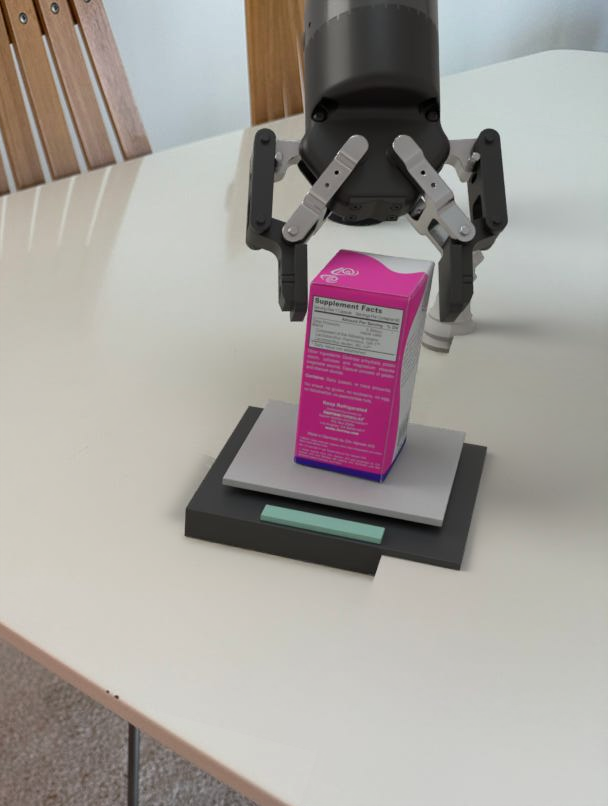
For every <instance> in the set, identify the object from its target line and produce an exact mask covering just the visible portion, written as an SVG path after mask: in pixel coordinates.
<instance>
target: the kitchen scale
mask: <svg viewBox="0 0 608 806" xmlns="http://www.w3.org/2000/svg"><path fill="white" fill-rule="evenodd" d="M298 410H299V403H296V402H295V403H294V402H289V401H283V400H277V399H268V401H267V402H266V404H265V406H264V407H258V406H253V405H248V407H247V408H246V409H245V411H244V413H243V415H242V416H241V418H240V420H239V421H238V423H237V425H235V428H234V430H233V431H232V432H231V434H230V436H229V437H228V439H227V441H226V442H225V444H224V445H223V446H222V448H221V451H219V454H218V455H217V457H216V458H215V460H214V462H213V463H212V465H211V467H210V468H209V470H208V472H207V473H206V474H205V476H204V478H203V479H202V481H201V482H200V484H199V485H198V488H197V489H196V491H195V492H194V494H193V495H192V497H191V499H190V500H189V502H188V503H187V505H186V507H185V510H184V511H185V512H184V513H185V514H184V534H183V535H184V537H189V538H193V539H197V540H202V541H207V542H212V543H216V544H221V545H226V546H232V547H236V548H241V549H244V550H245V549H246V550H250V551H255V552H259V553H260V552H261V553H265V554H269V555H274V556H279V557H284V558H287V559H288V558H289V559H293V560H298V561H302V562H307V563H311V564H317V565H320V566H325V567H330V568H335V569H341V570H345V571H350V572H354V573H360V574H364V575H369V576H376V574H377V571H378V568H379V565H380V562H381V559H382V556H385V557H390V558H396V559H399V560H400V559H401V560H404V561H405V560H406V561H410V562H415V563H420V564H425V565H430V566H434V567H440V568H443V569H449V570H455V571H460V570H461V566H462V562H463V557H464V553H465V550H466V549H465V548H466V544H467V540H468V535H469V530H470V526H471V522H472V517H473V513H474V509H475V504H476V499H477V495H478V492H479V491H478V490H479V486H480V482H481V478H482V473H483V468H484V464H485V460H486V455H487V451H488V446H485V445H480V444H474V443H469V442H465V440H466V439H465V438H466V436H467V432H466V431H461V430H454V429H449V428H442V427H437V426H431V425H425V424H420V423H419V424H418V423H414V422H409V423H408V429H407V437H406V442H405V444H404V446H403V448H402V450H401V452H400V454H399V455H398V457H397V459H396V461H395V462H394V464H393V466H392V468H391V470H390V471H389V473H388V475H387V476H386V478H385V480H384V481H383V482H382V483H378V482H374V481H370V480H367V479H362V478H358V477H354V476H350V475H346V474H342V473H338V472H333V471H329V470H324V469H320V468H315V467H311V466H307V465H303V464H298V463H295V462H294V454H295V443H296V432H297V421H298Z"/></svg>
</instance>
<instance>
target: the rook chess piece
mask: <svg viewBox="0 0 608 806" xmlns="http://www.w3.org/2000/svg"><path fill="white" fill-rule="evenodd" d="M439 254H440V257H442V255H441V253H439ZM472 254H473V283H474V282H475V281H476V280H477V279H478V276H477V273H476V268H477V267H478V266H479V265H480V264H481V263H482V262H483V261H484V260H485V256H484V254H483V251H481V250H476V251H474V252H472ZM471 301H472V300H471ZM471 301H470V303H469V304H468V305H467V307H466V308H465V309H464V311H463V312H461V314H460V315H459V316H458V317H457V319H456V320H455V321H454V322H440V317H439V290H438V291H437V295H436V297H435V301H434V303H433V304H432V306H431V308H429V309H428V310H427V314H426V320H425V326H424V332H423V338H422V344H421V346H423V347H425V348H427V349H428V350H430V351H434V352H438V353H443V354H444V353H445V354H450V353H449V352H450V349H451V346H452V344H453V340H454V338H455V336H457V337H458V336H460V337H461V336H464V335H470V334H471V333H473V332H474V331H475V329H476V323H475V321H474V320H473V316H474V315H473V313H472V308H471V304H472V303H471Z"/></svg>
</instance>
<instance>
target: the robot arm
mask: <svg viewBox="0 0 608 806" xmlns="http://www.w3.org/2000/svg"><path fill="white" fill-rule="evenodd" d="M303 11H304V13H303V33H302V37H301V47H302V53H303V55H304V57H303V58H304V61H303V63H304V127H305V129H304V134H303V136H302V138H301V140H298V139H280V138H277V134H276V133H275V132H274V131H273V130H272V129H271V128H268V127H263V128H260V129H258V130H257V131H256V133H255V135H254V137H253V142H252V143H253V144H252V149H251V154H250V158H249V171H248V172H249V173H248V188H247V189H248V191H247V207H246V223H245V224H246V225H245V244H246V246H247V248H249V249H250V250H251V251H261V250H265V251H267V252H270V253H271V254H273V255H274V257H275V258H276V260H277V289H278V290H277V292H278V293H277V295H278V298H277V299H278V301H277V302H278V305H279V308H280V309H281V310H280V311H281V312H289V322H290V323H292V322H293V323H295V322H297V323H298V322H299V323H303V322H304V321H305V318H306V316H307V314H308V303H309V282H308V281H309V274H308V273H309V272H308V271H309V270H308V269H309V268H308V267H309V265H308V263H309V262H308V261H309V260H308V242H309V241H310V239H311V238H312V237H313V236H315V235H316V234H317V233H318V231H319V230H320V229H321V227H323V225H324V224H325V223H326V221H327V220H329V219H328V217H329V216H330V215H331V213H332V212H333V213H334V214H336V215H338V216H340V217H343V221H359V220H363V219H367V218H372V219H376V220H380V221H383V222H397V221H398V220H399V218H400V217H404V218H405V219H406V220H407V222H408V223H409V224H410V225H411V226H412V227H413V229H414V230H415V231H416V232H417V234H419V235H420V236H425V237H426V238H427V239H428V240H429V242H430V243H431V244H432V245H433V246H434V248H435V249H436V250H437V251H438V252H439V254H441V255H442V257H441V255H440V257H441V258H440V259H439V261H438V263H437V267H438V270H437V272H438V274H437V275H438V291H439V317H440V322H454V321H455V320H456V319H457V317H458V316H459V315H460V314H461V312H463V311H464V309H465V308H466V307H467V305H468V304H469V303H470V301H472V299H473V295H474V294H475V293H474V282H473V254H472V252H474V251H476V250H481V252H485V251H488V250H490V249H491V248H492V247H493V246H494V244H495V242H496V240H497V238H498V237H499V236H500V234H501V233H502V232H503V231H504V230H505V228H506V227H507V226H508V223H509V215H508V205H507V193H506V184H505V174H504V173H505V172H504V163H503V162H504V161H503V152H502V151H503V150H502V144H501V143H502V142H501V136H500V135H501V134H500V133H499V132H498V130H496V129H495V128H491V127H489V128H488V127H487V128H485V129H483V130H481V131H480V133H479V135H478V136H477V137H476V138H461V139H449V137H448V136H447V134H446V133H445V130H444V129H443V125H442V122H441V76H440V72H441V71H440V37H439V35H440V34H439V0H305V1H304V10H303ZM294 165H296V166H297V168H298V170H299V172H300V173H301V175H302V176H303V177H304V178H305V180H306V181H307V182H308V184H309V185H310V186H311V188H310V189H309V190H308V191H307V193H306V195H305V197H304V199H303V200H302V201H301V203H300V204H299V205H298V207H297V208H296V210H295V211H294V212H293V213H292V215H291V216H290V217H289V218H288V220H287V221H283V220H280V219H277V218H275V217H273V206H274V205H273V203H274V185H275V183H279V182H281V181H282V180H283V179H284V178H285V177H286V173H287V170H288V168H290V167H291V166H294ZM445 165H449V166H452V167H453V168H454V170H455V171H456V175H457V177H458V179H459V182H461V183H463V184H464V183H466V188H467V196H468V209H469V217H468V216H467V215H466V213H464V212H463V210H462V209H461V207H460V206H459V205H458V204H457V202H456V201H455V195H454V191H452V189H451V188H450V186H449V185H448V184H447V182H446V181H445V180H444V179H443V178H442V177H441V175H440V172H442V170H443V168H444V166H445ZM470 304H471V303H470Z"/></svg>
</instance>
